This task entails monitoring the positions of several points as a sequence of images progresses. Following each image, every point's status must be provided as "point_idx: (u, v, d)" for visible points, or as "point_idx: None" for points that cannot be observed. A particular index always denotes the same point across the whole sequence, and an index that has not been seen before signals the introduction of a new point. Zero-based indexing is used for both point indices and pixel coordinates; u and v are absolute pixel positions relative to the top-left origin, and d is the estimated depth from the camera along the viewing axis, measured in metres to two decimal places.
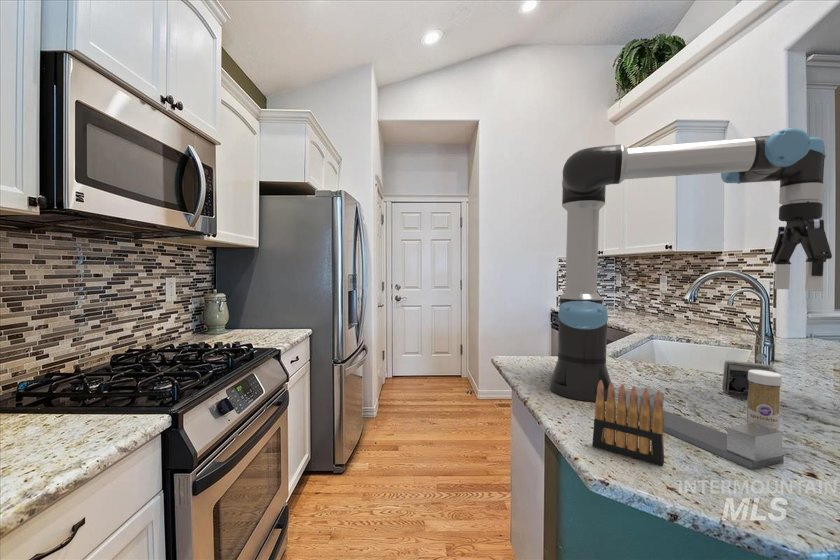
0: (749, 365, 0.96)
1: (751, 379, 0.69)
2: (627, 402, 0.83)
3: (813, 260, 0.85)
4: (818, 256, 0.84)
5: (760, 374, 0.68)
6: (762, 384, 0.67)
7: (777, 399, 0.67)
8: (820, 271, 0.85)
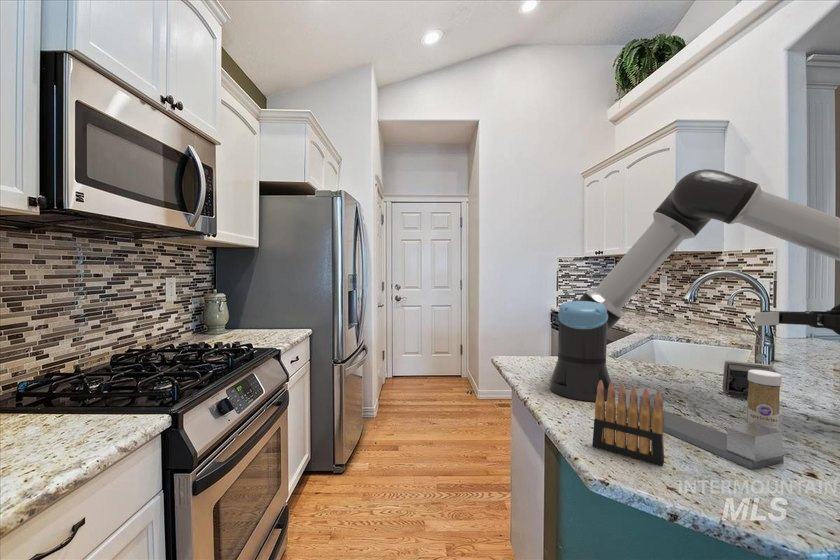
0: (749, 365, 0.96)
1: (751, 379, 0.69)
2: (627, 402, 0.83)
3: None
4: None
5: (760, 374, 0.68)
6: (762, 384, 0.67)
7: (777, 399, 0.67)
8: None
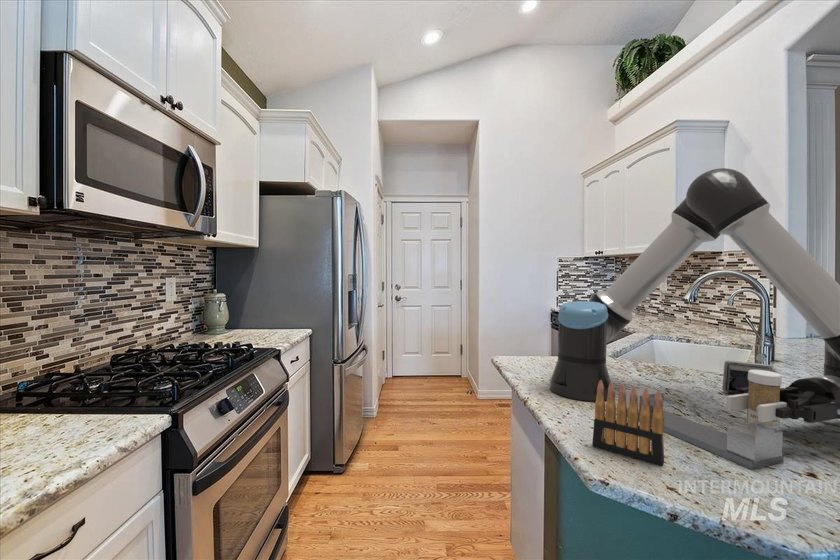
0: (749, 365, 0.96)
1: (751, 379, 0.69)
2: (627, 402, 0.83)
3: (793, 406, 0.66)
4: (810, 409, 0.64)
5: (760, 374, 0.68)
6: (762, 384, 0.67)
7: (777, 399, 0.67)
8: (787, 415, 0.65)
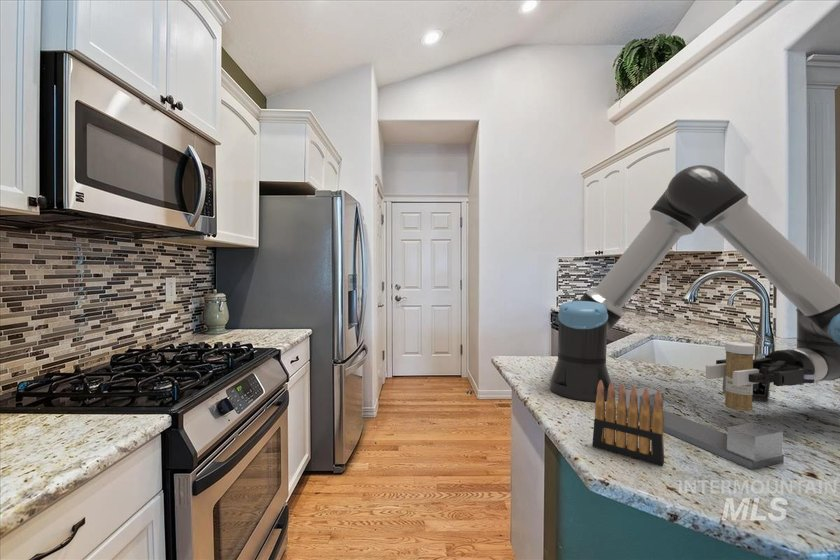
0: None
1: (728, 349, 0.77)
2: (627, 402, 0.83)
3: (764, 372, 0.74)
4: (779, 374, 0.72)
5: (735, 344, 0.76)
6: (737, 353, 0.76)
7: (750, 366, 0.75)
8: (758, 380, 0.73)
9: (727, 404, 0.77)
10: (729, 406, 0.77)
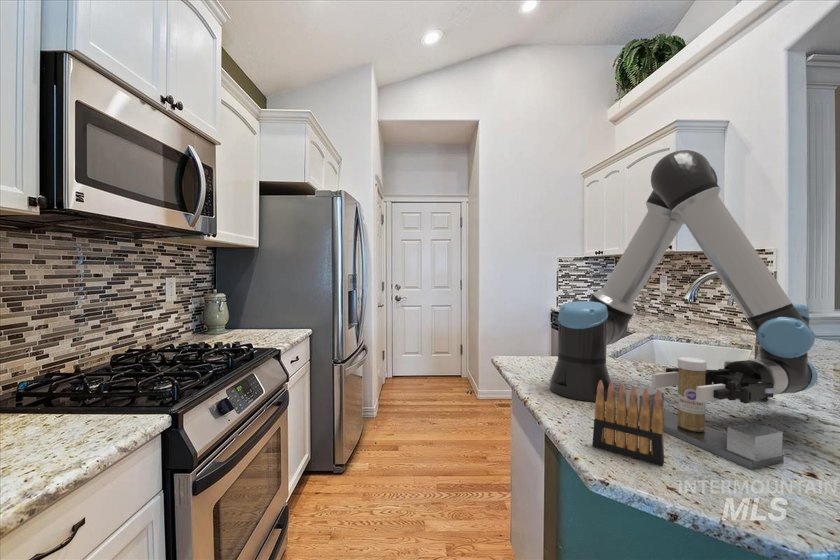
0: None
1: (679, 366, 0.73)
2: (627, 402, 0.83)
3: (732, 388, 0.68)
4: (746, 390, 0.67)
5: (687, 360, 0.72)
6: (689, 370, 0.72)
7: (702, 384, 0.71)
8: (724, 396, 0.67)
9: (679, 424, 0.73)
10: (681, 426, 0.73)
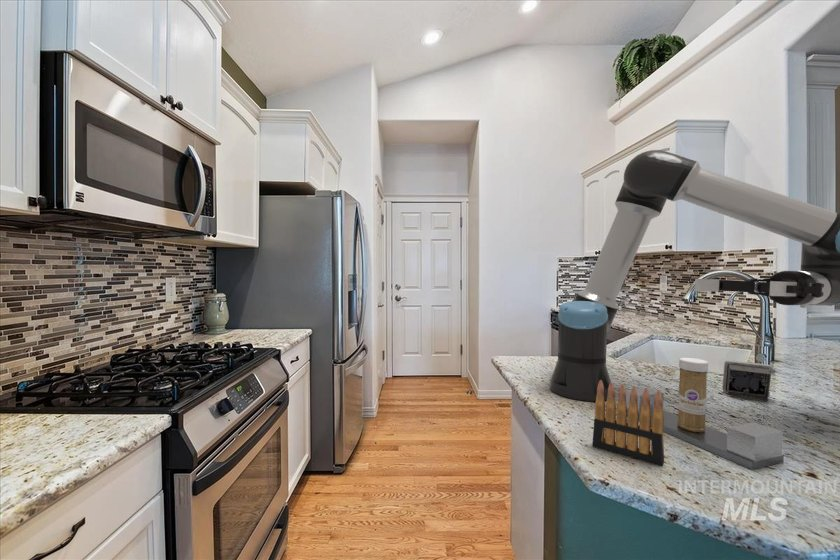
0: (749, 365, 0.96)
1: (681, 366, 0.73)
2: (627, 402, 0.83)
3: (805, 284, 0.70)
4: (821, 284, 0.69)
5: (688, 361, 0.72)
6: (690, 370, 0.71)
7: (703, 385, 0.71)
8: (797, 291, 0.69)
9: (679, 424, 0.73)
10: (681, 426, 0.73)
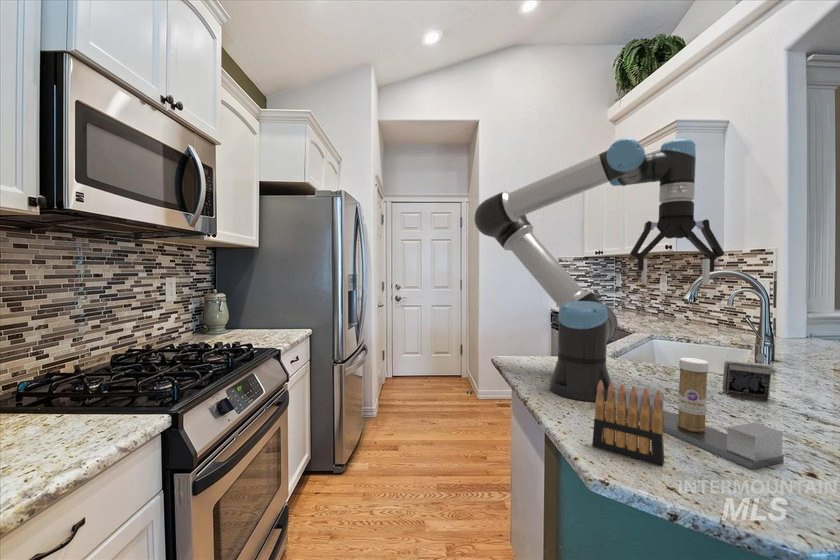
0: (749, 365, 0.96)
1: (681, 366, 0.73)
2: (627, 402, 0.83)
3: None
4: (630, 254, 1.02)
5: (688, 361, 0.72)
6: (690, 371, 0.71)
7: (703, 385, 0.71)
8: None
9: (679, 424, 0.73)
10: (681, 426, 0.73)
